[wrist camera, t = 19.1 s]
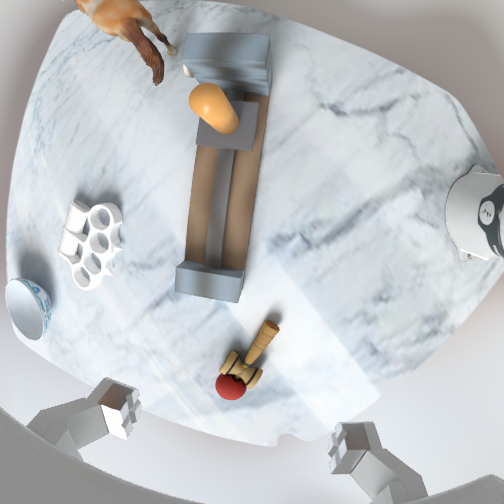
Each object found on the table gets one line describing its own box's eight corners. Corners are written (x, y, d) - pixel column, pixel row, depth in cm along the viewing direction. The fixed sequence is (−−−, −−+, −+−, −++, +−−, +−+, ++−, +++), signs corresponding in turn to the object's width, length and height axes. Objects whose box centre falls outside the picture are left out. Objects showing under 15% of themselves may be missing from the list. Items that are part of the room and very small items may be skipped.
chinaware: (60, 338, 56) (42, 352, 48) (23, 306, 55) (5, 317, 48) (67, 290, 52) (45, 303, 44) (27, 258, 51) (6, 267, 44)
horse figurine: (94, 24, 38) (39, -12, 18) (120, 1, 36) (71, -43, 16) (168, 96, 41) (105, 51, 21) (202, 67, 40) (157, 4, 20)
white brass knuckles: (83, 184, 46) (139, 218, 47) (60, 260, 51) (109, 297, 51) (73, 184, 43) (130, 221, 44) (51, 264, 48) (101, 303, 48)
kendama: (249, 307, 50) (205, 379, 52) (254, 322, 44) (205, 399, 46) (285, 324, 52) (239, 392, 54) (294, 339, 46) (242, 411, 48)
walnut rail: (272, 75, 39) (269, 31, 25) (242, 289, 48) (227, 332, 34) (207, 70, 40) (180, 30, 25) (180, 279, 48) (145, 314, 34)
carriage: (259, 107, 38) (250, 70, 24) (252, 151, 39) (240, 133, 25) (207, 103, 38) (175, 68, 24) (200, 146, 40) (163, 129, 26)
